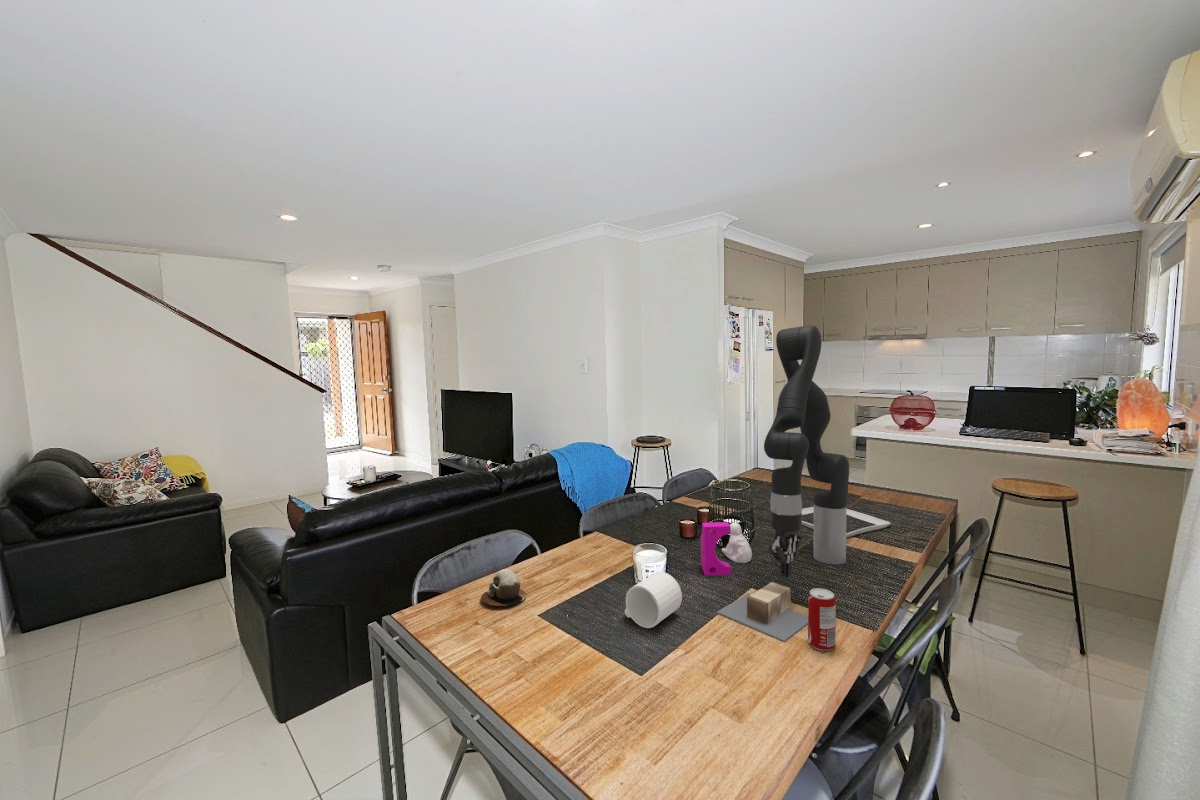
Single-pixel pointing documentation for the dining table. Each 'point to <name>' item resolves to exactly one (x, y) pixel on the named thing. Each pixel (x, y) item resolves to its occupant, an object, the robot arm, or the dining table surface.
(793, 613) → the mat
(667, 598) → the mug
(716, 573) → the toy block
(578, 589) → the dining table surface
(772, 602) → the birch block
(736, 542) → the pale pink lumpy piece
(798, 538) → the robot arm
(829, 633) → the soda can
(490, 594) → the skull
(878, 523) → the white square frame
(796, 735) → the dining table surface
